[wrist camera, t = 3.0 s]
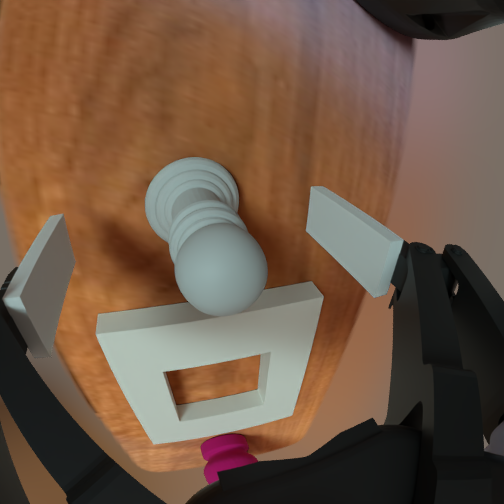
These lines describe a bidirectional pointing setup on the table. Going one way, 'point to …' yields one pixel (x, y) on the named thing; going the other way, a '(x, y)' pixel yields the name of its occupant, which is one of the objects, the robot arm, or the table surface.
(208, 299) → the chess piece
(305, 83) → the table surface
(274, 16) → the table surface
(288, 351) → the socket board
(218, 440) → the pepper mill
